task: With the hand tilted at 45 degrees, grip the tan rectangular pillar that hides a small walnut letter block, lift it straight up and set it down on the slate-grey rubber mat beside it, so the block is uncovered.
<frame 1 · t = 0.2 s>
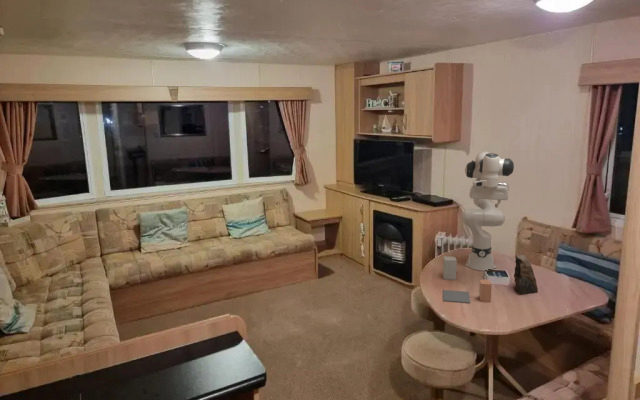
hand: (487, 207, 245), 48 cm above the table, tool pointing down, fingers open, 8 cm apart
dark brown rock: (524, 291, 246), on the table
tan rectangular pillar: (484, 299, 237), on the table
supplement box: (449, 277, 268), on the table
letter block: (484, 295, 237), in the tan rectangular pillar
grey mat: (456, 296, 241), on the table
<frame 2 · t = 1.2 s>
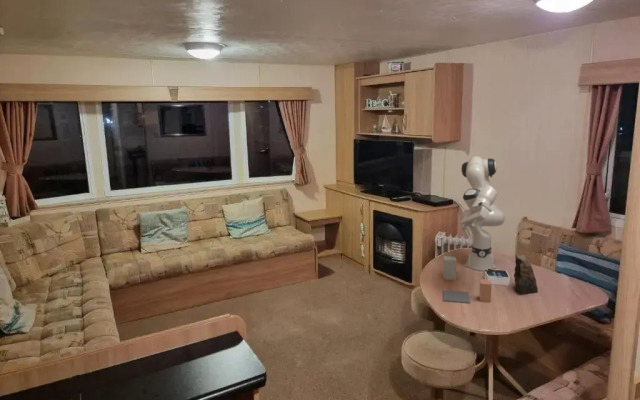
hand: (467, 228, 237), 38 cm above the table, tool tilted 50°, fingers open, 8 cm apart
nothing on the table moved.
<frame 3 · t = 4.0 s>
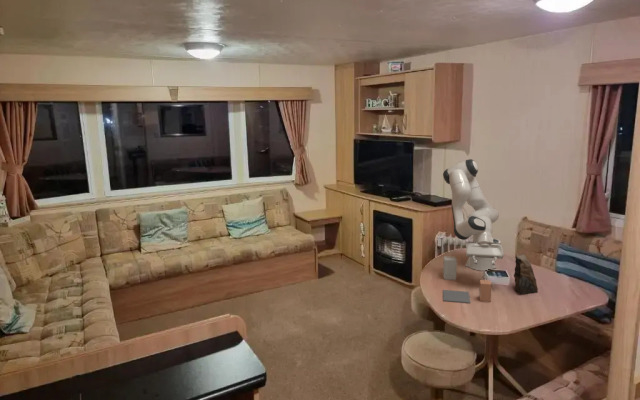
hand: (484, 264, 245), 16 cm above the table, tool tilted 45°, fingers open, 8 cm apart
nothing on the table moved.
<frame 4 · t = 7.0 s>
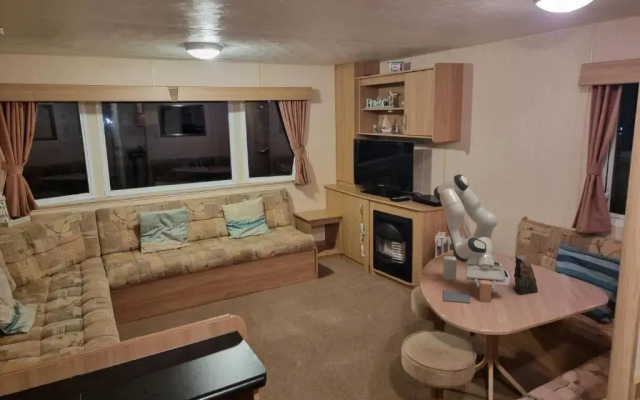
hand: (485, 288, 236), 6 cm above the table, tool tilted 45°, fingers closed on tan rectangular pillar, 5 cm apart
tan rectangular pillar: (484, 299, 237), on the table, touching gripper
everything else where it was.
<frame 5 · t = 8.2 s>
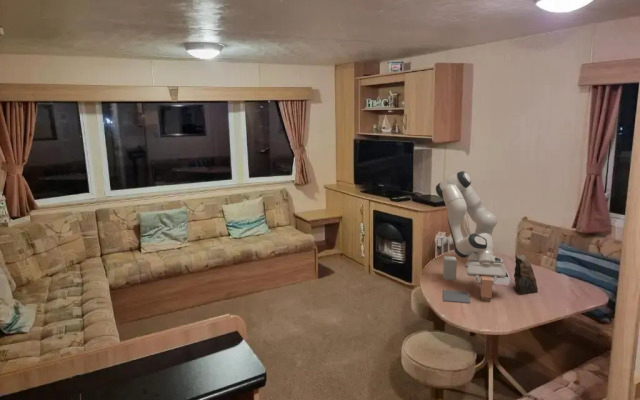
hand: (486, 283, 236), 9 cm above the table, tool tilted 45°, fingers closed on tan rectangular pillar, 5 cm apart
tan rectangular pillar: (485, 295, 237), point 2 cm above the table, touching gripper, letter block
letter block: (485, 295, 237), on the table, touching tan rectangular pillar
everything else where it was.
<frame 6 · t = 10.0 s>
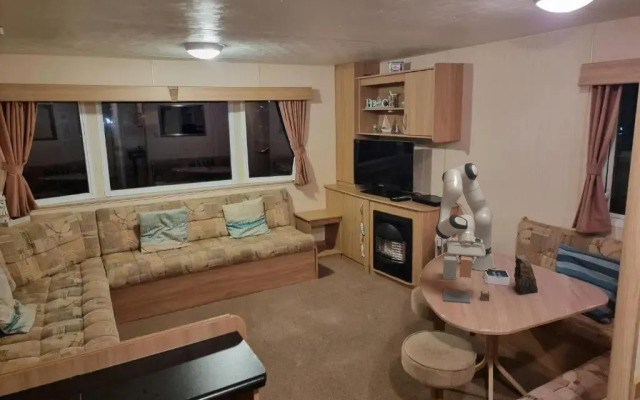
hand: (465, 264, 236), 20 cm above the table, tool tilted 45°, fingers closed on tan rectangular pillar, 5 cm apart
tan rectangular pillar: (464, 275, 237), point 13 cm above the table, touching gripper
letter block: (485, 295, 237), on the table
everything else where it was.
when the fingers open (8 cm above the table, at t = 12.9 s): tan rectangular pillar drops 1 cm, resting on grey mat.
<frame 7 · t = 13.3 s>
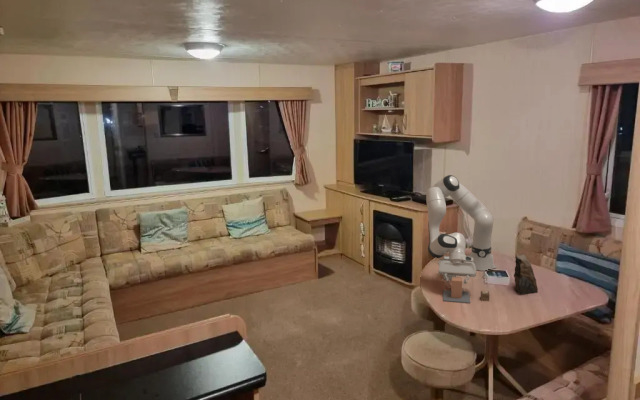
hand: (456, 282, 240), 8 cm above the table, tool tilted 45°, fingers open, 8 cm apart
tan rectangular pillar: (456, 295, 241), point 1 cm above the table, touching grey mat
everything else where it was.
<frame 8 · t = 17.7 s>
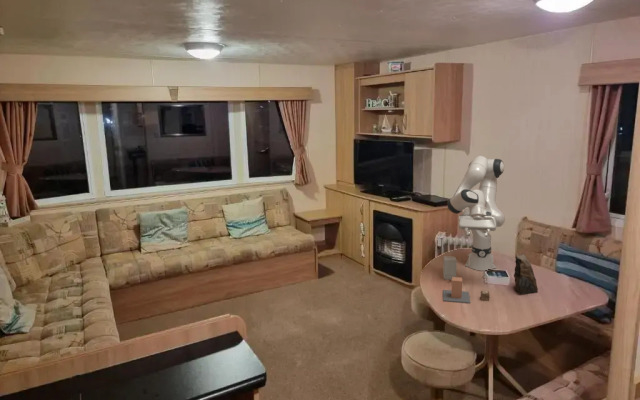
hand: (477, 236, 246), 31 cm above the table, tool tilted 45°, fingers open, 8 cm apart
nothing on the table moved.
at the end: tan rectangular pillar inside the target area on the grey mat (0.1 cm from its centre), point 0.6 cm above the grey mat's base; tan rectangular pillar tilted 0°; the gripper is holding nothing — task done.
